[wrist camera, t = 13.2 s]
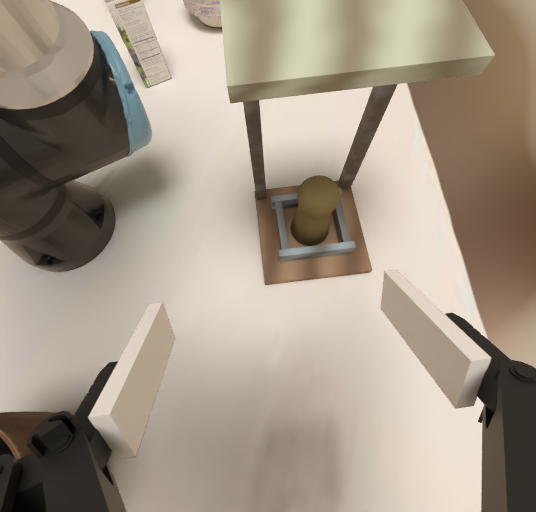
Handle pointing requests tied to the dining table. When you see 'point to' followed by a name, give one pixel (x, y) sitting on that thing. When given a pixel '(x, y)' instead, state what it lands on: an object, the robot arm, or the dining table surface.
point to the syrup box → (139, 39)
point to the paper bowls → (205, 11)
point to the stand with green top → (335, 79)
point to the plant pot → (18, 431)
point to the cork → (314, 210)
